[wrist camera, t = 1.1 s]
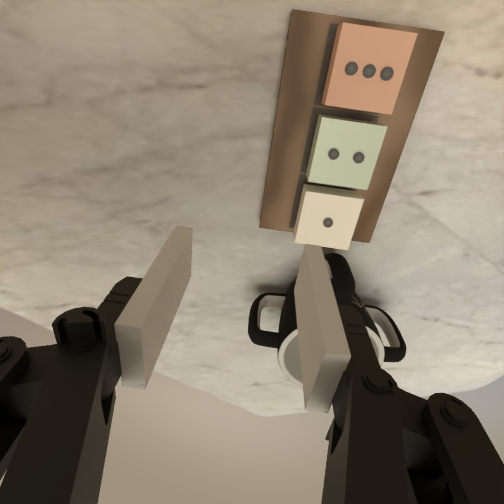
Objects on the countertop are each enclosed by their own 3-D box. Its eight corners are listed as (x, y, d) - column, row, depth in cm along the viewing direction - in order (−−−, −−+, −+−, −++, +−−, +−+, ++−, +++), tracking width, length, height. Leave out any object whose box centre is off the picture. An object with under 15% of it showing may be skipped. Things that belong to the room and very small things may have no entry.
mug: (390, 311, 47) (423, 379, 37) (296, 348, 52) (302, 417, 42) (345, 227, 41) (369, 280, 31) (242, 278, 46) (233, 339, 36)
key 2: (305, 174, 33) (308, 182, 31) (318, 114, 30) (322, 117, 28) (361, 182, 33) (368, 190, 31) (379, 122, 30) (388, 127, 28)
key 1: (293, 233, 37) (294, 244, 35) (303, 183, 34) (306, 192, 32) (343, 240, 37) (348, 251, 35) (358, 191, 34) (364, 200, 32)
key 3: (321, 102, 30) (325, 105, 28) (337, 26, 27) (343, 21, 25) (383, 111, 30) (392, 115, 28) (406, 36, 27) (419, 32, 25)
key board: (259, 221, 41) (259, 227, 39) (291, 12, 30) (292, 9, 28) (365, 235, 41) (369, 243, 39) (435, 34, 30) (445, 31, 28)
